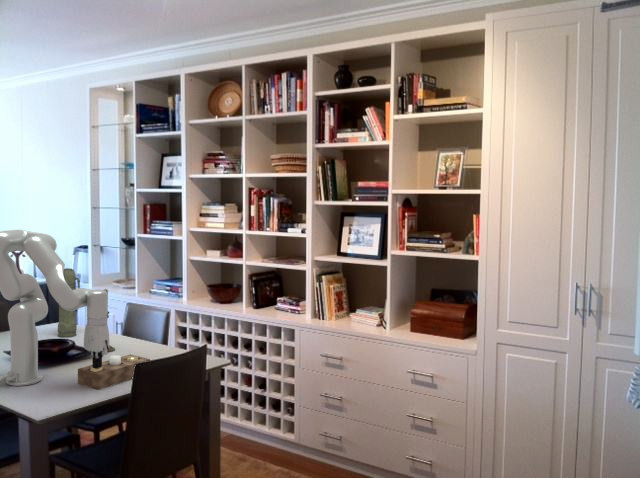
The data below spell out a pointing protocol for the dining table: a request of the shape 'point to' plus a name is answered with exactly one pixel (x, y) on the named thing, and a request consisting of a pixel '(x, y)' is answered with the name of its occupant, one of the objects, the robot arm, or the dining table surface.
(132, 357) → the far brass knob
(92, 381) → the wooden block
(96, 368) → the near brass knob
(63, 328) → the thermos
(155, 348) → the dining table surface
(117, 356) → the middle white knob
